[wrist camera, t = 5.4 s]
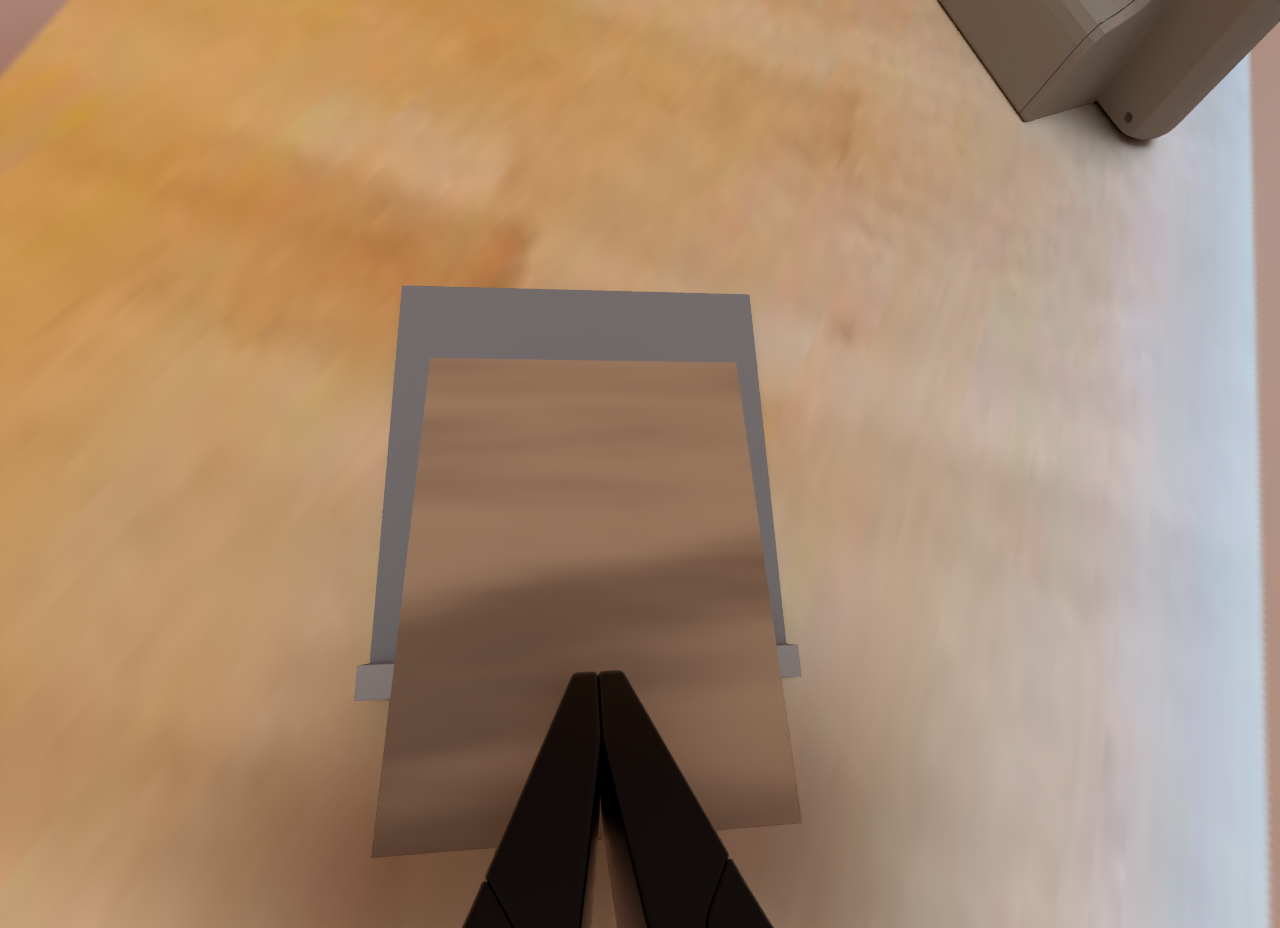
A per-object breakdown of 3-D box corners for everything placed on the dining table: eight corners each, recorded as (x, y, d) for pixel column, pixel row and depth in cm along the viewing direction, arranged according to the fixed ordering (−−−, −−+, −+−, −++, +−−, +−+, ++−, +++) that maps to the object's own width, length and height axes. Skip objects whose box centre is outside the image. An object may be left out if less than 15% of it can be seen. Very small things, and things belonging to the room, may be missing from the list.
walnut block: (802, 822, 12) (735, 362, 17) (371, 857, 11) (430, 358, 16) (741, 794, 17) (702, 436, 22) (430, 818, 16) (462, 436, 21)
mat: (785, 672, 20) (801, 676, 19) (371, 695, 18) (354, 700, 17) (746, 299, 24) (757, 279, 23) (404, 291, 23) (393, 268, 21)
